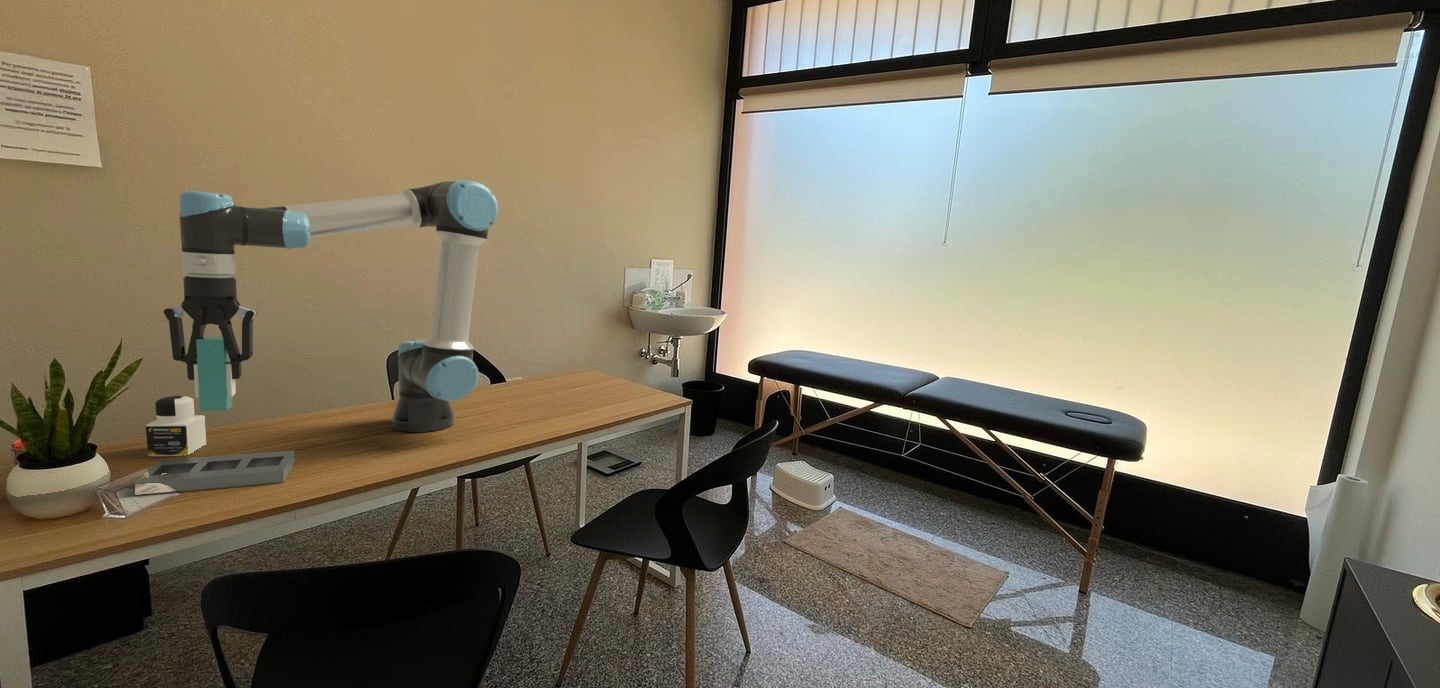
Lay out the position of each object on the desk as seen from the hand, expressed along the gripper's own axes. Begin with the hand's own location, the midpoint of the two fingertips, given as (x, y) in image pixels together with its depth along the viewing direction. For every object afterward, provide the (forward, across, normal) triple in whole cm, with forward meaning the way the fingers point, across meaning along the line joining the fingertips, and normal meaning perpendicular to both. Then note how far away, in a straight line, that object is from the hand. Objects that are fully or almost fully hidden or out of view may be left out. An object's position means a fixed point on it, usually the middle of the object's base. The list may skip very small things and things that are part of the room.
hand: (216, 395), depth 113 cm
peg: (+3, 0, 0) cm, 3 cm away
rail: (+17, 0, 0) cm, 17 cm away
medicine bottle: (+17, -12, +19) cm, 28 cm away
